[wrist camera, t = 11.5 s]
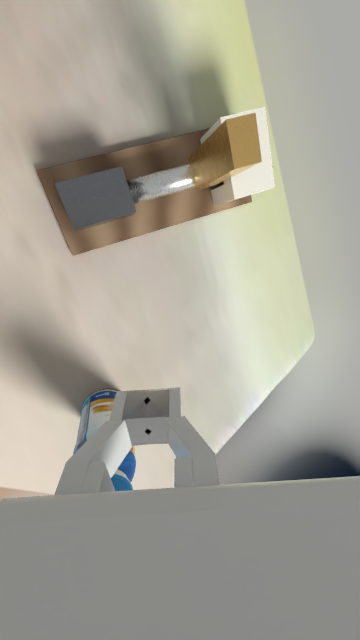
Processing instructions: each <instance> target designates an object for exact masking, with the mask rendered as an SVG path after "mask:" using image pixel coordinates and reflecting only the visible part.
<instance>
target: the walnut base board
mask: <svg viewBox="0 0 360 640" xmlns="http://www.w3.org/2000/svg"><path fill="white" fill-rule="evenodd" d="M209 129H210V128H209ZM209 129H205V130H201V131H196V132H192V133H188V134H184V135H180V136H176V137H172V138H168V139H164V140H160V141H155V142H151V143H147V144H143V145H139V146H135V147H131V148H127V149H123V150H119V151H115V152H110V153H106V154H102V155H98V156H94V157H90V158H86V159H82V160H78V161H74V162H70V163H65V164H61V165H57V166H53V167H49V168H45V169H41V170H37V173H38V175H39V178H40V180H41V182H42V185H43V187H44V189H45V192H46V194H47V196H48V199H49V201H50V203H51V206H52V208H53V210H54V213H55V215H56V218H57V220H58V222H59V225H60V227H61V229H62V232H63V234H64V236H65V239H66V241H67V243H68V246H69V248H70V250H71V253H72V255H77V254H80V253H83V252H87V251H90V250H93V249H97V248H100V247H103V246H107V245H110V244H113V243H116V242H120V241H123V240H126V239H130V238H133V237H136V236H140V235H143V234H146V233H150V232H153V231H156V230H160V229H163V228H166V227H170V226H173V225H176V224H179V223H183V222H186V221H189V220H193V219H196V218H199V217H203V216H206V215H209V214H213V213H216V212H219V211H223V210H226V209H229V208H232V207H236V206H239V205H242V204H246V203H249V202H252V198H251V195H249V196H246V197H242V198H239V199H236V200H232V201H229V202H225V203H222V204H219V205H215V206H214V204H213V199H212V194H211V190H213V189H215V188H217V187H220V186H222V185H224V181H223V182H221V183H219V184H217V185H214V186H210V187H207V188H203V189H200V190H196V189H195V188H191V189H188V190H184V191H181V192H177V193H173V194H170V195H166V196H163V197H159V198H156V199H152V200H148V201H145V202H141V203H138V204H134V206H135V209H136V213H135V214H134V215H132V216H129V217H125V218H122V219H118V220H115V221H111V222H108V223H104V224H101V225H97V226H94V227H91V228H87V229H84V230H80V231H76V230H74V229H73V227H72V224H71V222H70V220H69V217H68V215H67V212H66V210H65V207H64V205H63V202H62V200H61V198H60V195H59V193H58V190H57V188H56V185H55V183H58V182H62V181H66V180H70V179H74V178H78V177H82V176H86V175H90V174H94V173H97V172H101V171H105V170H109V169H113V168H117V167H121V166H122V168H123V171H124V174H125V177H126V180H128V179H132V178H136V177H139V176H143V175H147V174H151V173H155V172H158V171H162V170H166V169H170V168H174V167H177V166H181V165H185V164H189V163H190V162H189V157H190V156H191V155H192V154H193V153H194V152H195V151H196V150H197V148H198V147H199V146H200V145H201V141H200V139H201V138H202V137H203V136H204V134H205V133H206V132H207V131H208V130H209Z"/></svg>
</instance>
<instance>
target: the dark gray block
mask: <svg viewBox="0 0 360 640" xmlns="http://www.w3.org/2000/svg"><path fill="white" fill-rule="evenodd" d="M55 185H56V188H57V190H58V193H59V195H60V198H61V200H62V202H63V205H64V207H65V210H66V212H67V215H68V217H69V220H70V222H71V224H72V227H73V229H74V230H76V231H80V230H84V229H87V228H91V227H94V226H97V225H101V224H104V223H108V222H111V221H115V220H118V219H122V218H125V217H129V216H132V215H134V214H135V213H136V209H135V206H134V203H133V200H132V196H131V193H130V190H129V187H128V184H127V180H126V177H125V174H124V171H123V168H122V166H121V167H117V168H113V169H109V170H105V171H101V172H97V173H94V174H90V175H86V176H82V177H78V178H74V179H70V180H66V181H62V182H58V183H55Z"/></svg>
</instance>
